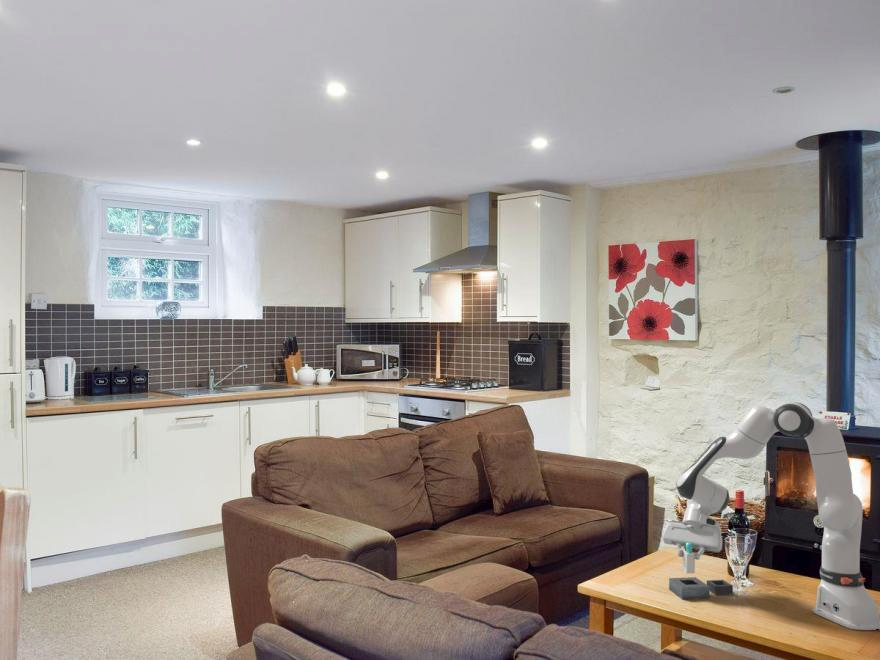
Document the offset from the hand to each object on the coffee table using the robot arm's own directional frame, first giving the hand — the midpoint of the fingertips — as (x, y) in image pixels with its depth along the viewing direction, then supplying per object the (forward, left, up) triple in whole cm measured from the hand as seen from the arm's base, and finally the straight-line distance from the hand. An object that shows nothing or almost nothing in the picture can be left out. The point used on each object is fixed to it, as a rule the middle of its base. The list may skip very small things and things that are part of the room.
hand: (688, 557), depth 264 cm
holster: (+1, -13, -13) cm, 18 cm away
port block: (0, -1, -13) cm, 13 cm away
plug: (+1, 0, -5) cm, 5 cm away
